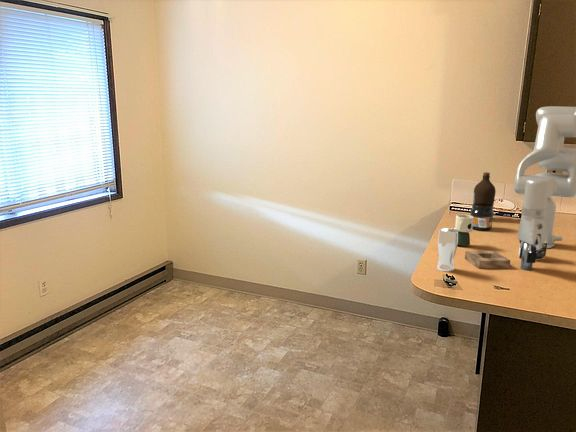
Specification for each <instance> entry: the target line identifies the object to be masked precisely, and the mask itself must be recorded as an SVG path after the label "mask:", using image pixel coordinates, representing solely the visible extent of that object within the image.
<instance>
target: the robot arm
mask: <svg viewBox="0 0 576 432" xmlns="http://www.w3.org/2000/svg"><path fill="white" fill-rule="evenodd" d="M535 119H536V120H535V121H536V124H537V129H536V130H537V132H536V136H535V141H534V147H533V150H532V151H531V152H530V153H528V154H527V155H525V156H524V157H523V158H522V160H521V161H520V162H519V163H518V165H517V169H516V172H515V177H514V182H513V189H514V190H513V191H515V193H516V194H518V195H523V204H522V211H521V218H520V222H519V227H518V233H517V234H518V236H517V238H518V241H519V248H521V249H520V256H518V257H519V258H518V259H520V260H521V258H522V250H523V242H526V243H528V244H529V252H528V253H527V261H526V262H527V263H533V264H535V263H536V261H537V260H536V254H537V253H538V250H539V249H541V248H542V245H543V244H544V241H546V242H547V249H552V248H555V246H556V243H555V242H556V241H557V242H562V241H563V237H562V236H559V235H558V236H556V235H554V234H553V233H554V224H555V217H556V211H557V206H556V203H555V201H554V200H553V198H552V197H561V198H562V197H563V198H575V196H576V148H569V147H564V144H565V138H576V106H561V105H560V106H558V105H557V106H555V105H553V106H548V105H547V106H541V107H539V108H538V109H537V110H536V111H535ZM535 164H538V166H539V168H540V169H543V170H547V171H556V172H539V173H536V174H534V175H531V174H525V173H526V170H527V169H529V167H531V166H533V165H535ZM557 171H558V172H565V173H567V174H565V173H557ZM534 243H535V244H534ZM532 246H535V247H533V248H532Z"/></svg>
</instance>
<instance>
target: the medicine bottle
mask: <svg viewBox="0 0 576 432" xmlns="http://www.w3.org/2000/svg"><path fill="white" fill-rule="evenodd" d="M520 249H521V248H520V247H519V248H518V257H520ZM547 249H548V248H547V242H546V241H544V244H543V245H542V248H541V249H539V250H538V253H537V254H536V261H539V260H545V259H546V256H547Z"/></svg>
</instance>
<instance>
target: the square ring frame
mask: <svg viewBox="0 0 576 432" xmlns="http://www.w3.org/2000/svg"><path fill="white" fill-rule="evenodd" d="M464 259H465V260H466V261H468V262H469V263H470V264H472V265H474V266H475V268H477V269H510V267H511V260H510V259H509V258H507V257H505V256H504V255H502V254H500V253H499V252H497V251H496V250H470V251H469V250H466V251H465V252H464Z"/></svg>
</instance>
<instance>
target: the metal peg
mask: <svg viewBox="0 0 576 432" xmlns="http://www.w3.org/2000/svg"><path fill="white" fill-rule="evenodd" d="M534 244H535V243H534ZM533 247H535V246H532V248H533ZM528 252H529V244H528V243H526V242H523V250H522V258H521V259H520V266H519V267H520V270H524V271H533V264H534V263H527V262H526V261H527V253H528Z"/></svg>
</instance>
